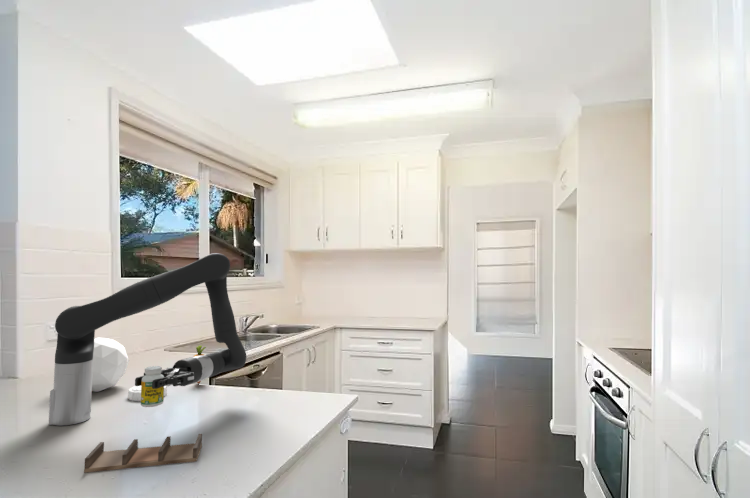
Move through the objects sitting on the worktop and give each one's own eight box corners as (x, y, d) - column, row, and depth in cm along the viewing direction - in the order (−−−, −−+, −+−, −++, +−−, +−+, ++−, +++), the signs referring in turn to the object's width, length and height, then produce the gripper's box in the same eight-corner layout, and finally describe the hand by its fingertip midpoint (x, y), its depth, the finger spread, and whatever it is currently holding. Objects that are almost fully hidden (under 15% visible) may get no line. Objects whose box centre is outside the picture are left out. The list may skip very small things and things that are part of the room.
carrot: (194, 382, 167) (195, 344, 168) (207, 382, 168) (208, 343, 169) (189, 385, 162) (191, 346, 163) (203, 385, 163) (204, 346, 164)
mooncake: (174, 393, 153) (174, 382, 154) (149, 402, 142) (150, 391, 142) (145, 390, 156) (146, 381, 156) (119, 400, 144) (119, 389, 144)
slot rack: (84, 472, 92) (84, 458, 92) (99, 455, 100) (99, 442, 101) (196, 461, 98) (197, 447, 98) (202, 445, 106) (202, 433, 106)
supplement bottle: (161, 400, 115) (163, 364, 116) (164, 405, 111) (166, 368, 111) (139, 403, 112) (141, 366, 113) (141, 408, 108) (143, 370, 108)
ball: (106, 410, 154) (113, 372, 145) (50, 392, 151) (54, 352, 143) (135, 373, 171) (143, 337, 162) (85, 356, 168) (90, 319, 160)
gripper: (175, 354, 128) (124, 366, 112) (213, 359, 123) (166, 371, 107) (174, 380, 127) (123, 395, 112) (212, 385, 123) (165, 401, 107)
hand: (144, 383), depth 109 cm, fingers closed on supplement bottle, 5 cm apart
